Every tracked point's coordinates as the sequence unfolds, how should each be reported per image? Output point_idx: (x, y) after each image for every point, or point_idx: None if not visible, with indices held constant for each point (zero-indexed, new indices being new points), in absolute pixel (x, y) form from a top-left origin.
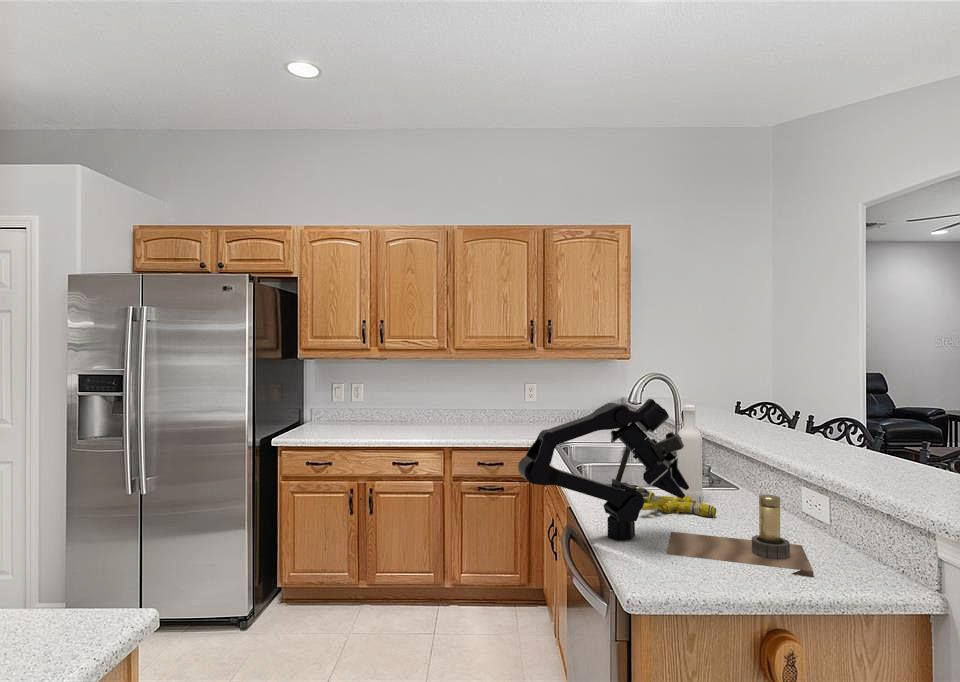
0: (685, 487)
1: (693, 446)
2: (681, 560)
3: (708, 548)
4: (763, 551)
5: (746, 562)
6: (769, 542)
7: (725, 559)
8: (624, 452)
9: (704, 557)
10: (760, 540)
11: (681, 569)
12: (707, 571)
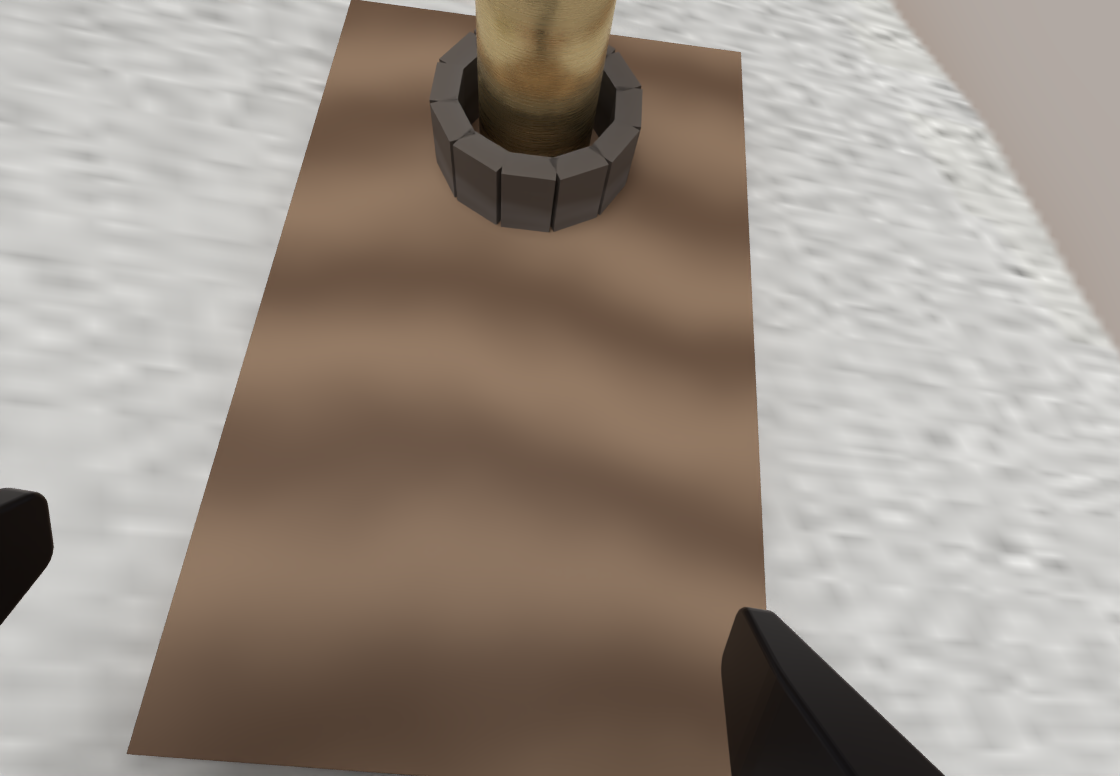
0: (10, 562)
1: None
2: None
3: (542, 468)
4: (622, 173)
5: (735, 289)
6: (596, 107)
7: (728, 390)
8: None
9: (743, 512)
10: (558, 142)
11: (912, 679)
12: (871, 515)
